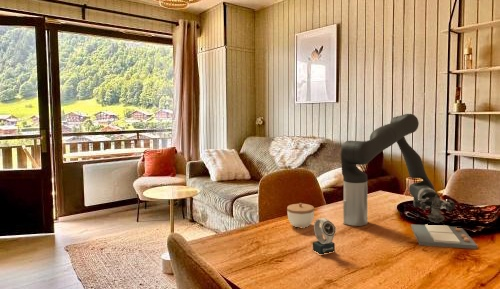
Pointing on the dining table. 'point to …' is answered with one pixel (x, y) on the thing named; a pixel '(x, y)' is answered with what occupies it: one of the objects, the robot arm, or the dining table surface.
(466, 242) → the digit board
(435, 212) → the salt shaker
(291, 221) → the lidded jar
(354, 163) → the robot arm
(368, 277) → the dining table surface
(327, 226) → the watch
